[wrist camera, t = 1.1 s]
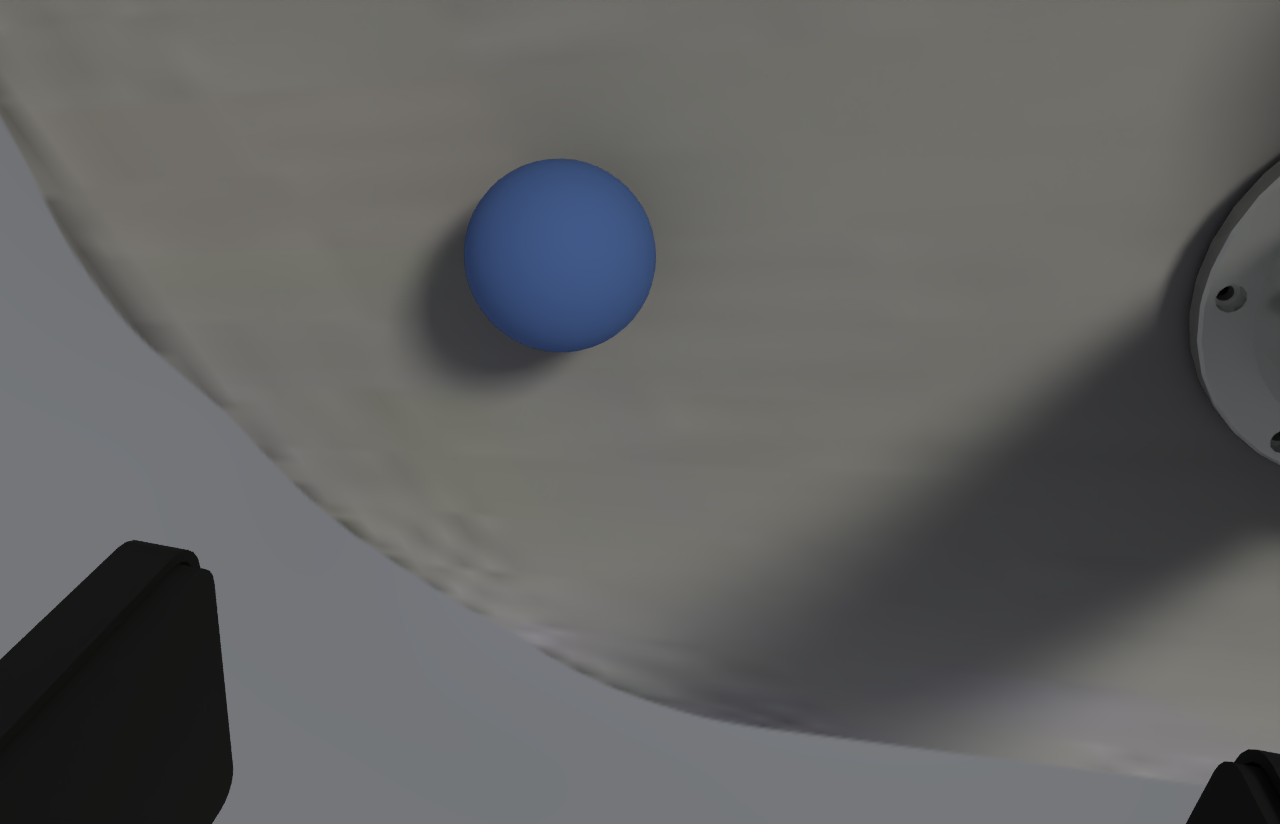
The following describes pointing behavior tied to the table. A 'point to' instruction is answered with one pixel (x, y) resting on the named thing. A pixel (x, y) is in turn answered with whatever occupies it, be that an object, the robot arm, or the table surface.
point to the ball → (559, 255)
